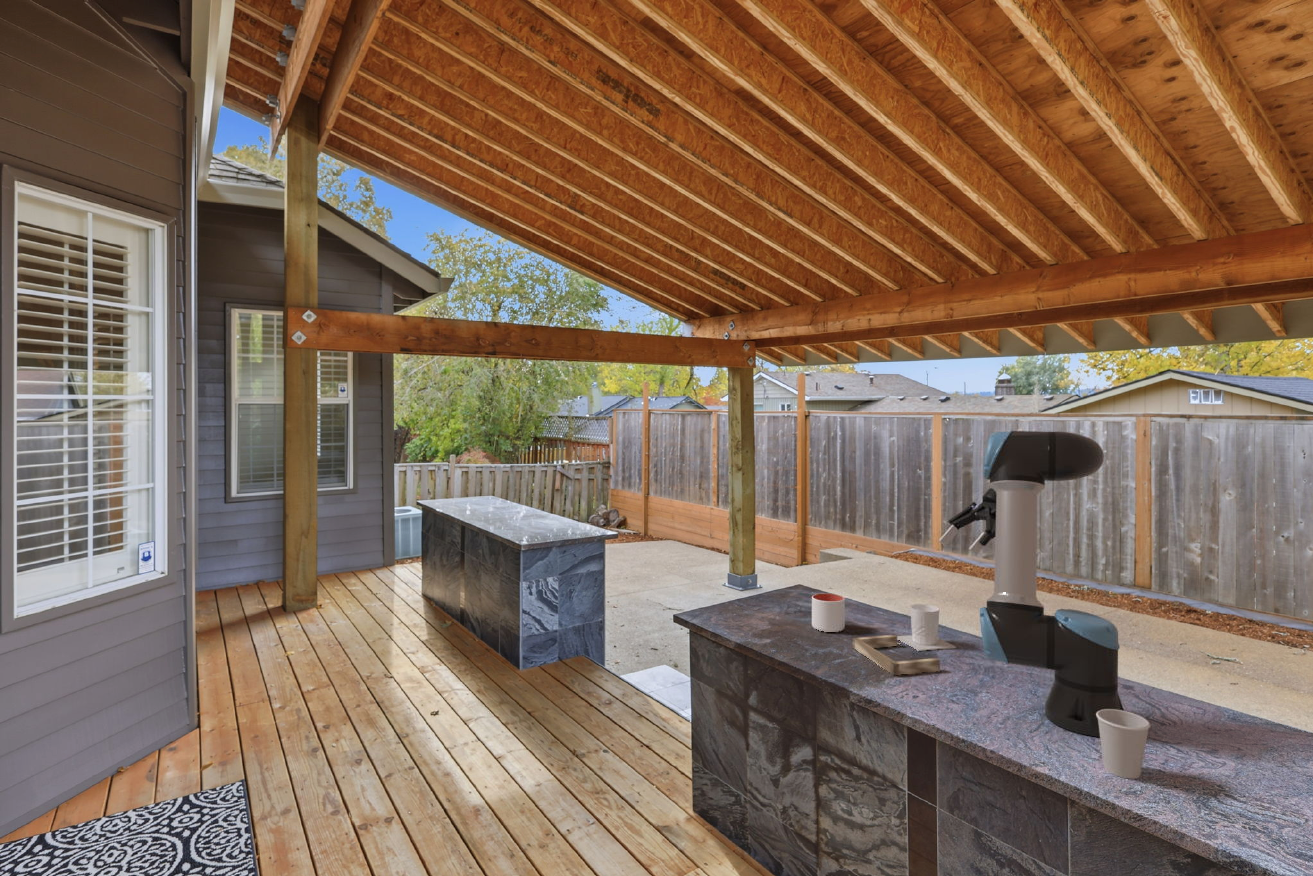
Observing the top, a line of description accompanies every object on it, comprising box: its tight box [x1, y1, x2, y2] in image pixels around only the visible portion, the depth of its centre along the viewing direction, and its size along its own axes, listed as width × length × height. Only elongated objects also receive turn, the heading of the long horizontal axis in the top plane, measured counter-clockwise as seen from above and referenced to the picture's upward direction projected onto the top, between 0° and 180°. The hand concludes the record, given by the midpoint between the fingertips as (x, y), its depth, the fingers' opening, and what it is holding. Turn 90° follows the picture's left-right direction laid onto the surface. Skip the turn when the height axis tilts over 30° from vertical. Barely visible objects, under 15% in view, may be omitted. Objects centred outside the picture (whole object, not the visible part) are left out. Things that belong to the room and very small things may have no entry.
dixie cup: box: [1096, 709, 1151, 780], centre depth 127 cm, size 8×8×10 cm
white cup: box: [910, 603, 940, 645], centre depth 198 cm, size 8×8×10 cm
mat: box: [896, 634, 956, 652], centre depth 199 cm, size 12×12×1 cm
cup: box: [811, 592, 846, 633], centre depth 212 cm, size 10×10×10 cm
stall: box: [851, 634, 941, 676], centre depth 185 cm, size 14×21×3 cm, turn 13°
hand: (956, 547), depth 200 cm, fingers open, 13 cm apart
